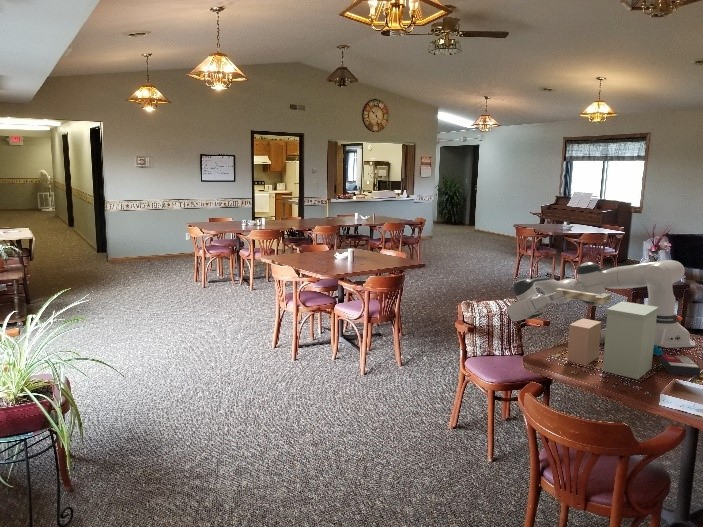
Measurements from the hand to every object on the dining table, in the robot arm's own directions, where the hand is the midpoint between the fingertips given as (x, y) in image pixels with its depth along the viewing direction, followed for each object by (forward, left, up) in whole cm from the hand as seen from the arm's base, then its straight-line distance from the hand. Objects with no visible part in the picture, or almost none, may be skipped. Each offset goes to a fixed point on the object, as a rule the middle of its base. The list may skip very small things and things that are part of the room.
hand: (565, 292), depth 236 cm
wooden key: (-5, +4, -2) cm, 7 cm away
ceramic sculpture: (-28, -16, -29) cm, 43 cm away
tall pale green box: (-21, +17, -28) cm, 39 cm away
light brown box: (-7, +6, -28) cm, 30 cm away
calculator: (-43, +14, -29) cm, 54 cm away
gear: (-38, -1, -28) cm, 48 cm away
